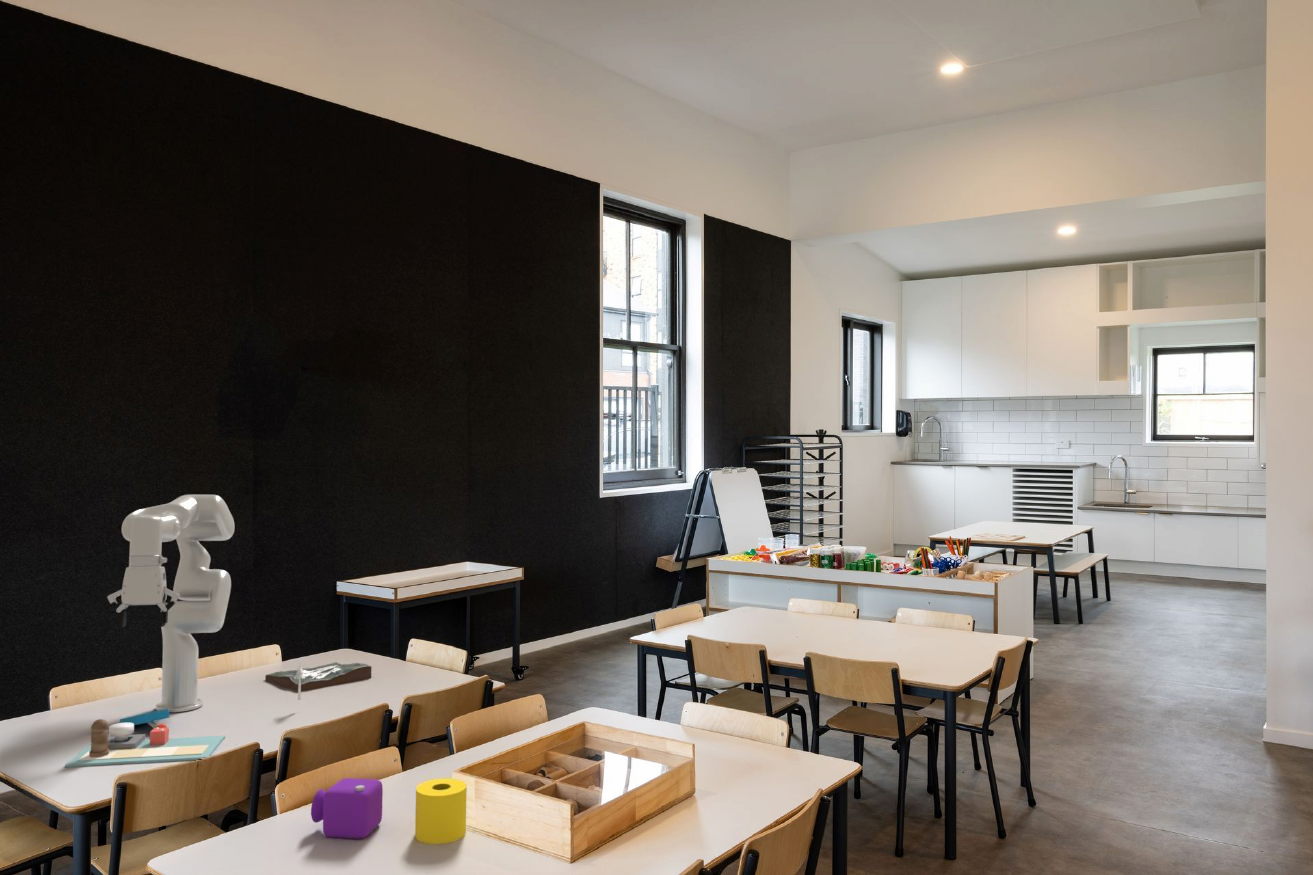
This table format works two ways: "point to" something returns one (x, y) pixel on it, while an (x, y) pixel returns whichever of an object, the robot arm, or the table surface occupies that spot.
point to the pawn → (99, 738)
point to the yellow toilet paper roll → (440, 811)
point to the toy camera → (349, 808)
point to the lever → (148, 718)
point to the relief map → (320, 676)
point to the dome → (121, 731)
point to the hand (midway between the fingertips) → (142, 626)
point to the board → (150, 749)
